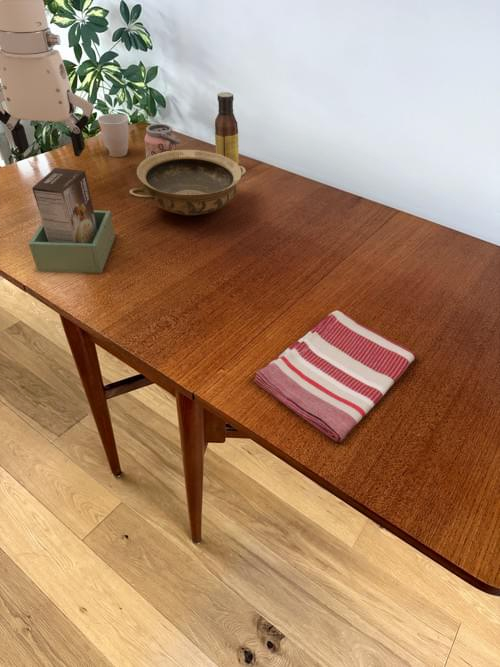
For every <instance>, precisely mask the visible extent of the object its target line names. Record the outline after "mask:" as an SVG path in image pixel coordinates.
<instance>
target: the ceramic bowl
mask: <svg viewBox="0 0 500 667" xmlns="http://www.w3.org/2000/svg"><path fill="white" fill-rule="evenodd" d="M246 173H247V170H246V168H245V167H244V166H242V165H239V164H236V163H235V162H234V161H232V160H231V159H229V158H227V157H225V156H222V155H219V154H216V152H212V151H207V150H199V149H176V150H174V151H166V152H162V153H158V154H155V155H152V156H150V157H148V158H146V157H145V159H143V161H141V162H140V163H139V165H138V166H137V168H136V175H137V178H138V179H139V181H140V182H141V183H142V186H141V187H134V188H131V189H129V191H128V194H129V196H131V197H132V198H133V199H134V198H135V199H138V200H149V201H150V202H151V203H152V204H154V205H155V206H157V208H160V209H162V210H164V211H166V212H168V213H173V214H178V215H180V216H184V217H196V216H200V215H204V214H209V213H212V212H215V211H218V210H220V209H222V208H223V207H225V206H226V205H228V204H229V203H230V202H231V201H232V200H233V198H234V197H235V194H236V191H237V184H238V183H239V181H240V180H241V179H242V178H243V177H245V175H246ZM138 193H142V194H138ZM143 193H144V194H143Z"/></svg>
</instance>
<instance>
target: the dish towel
mask: <svg viewBox="0 0 500 667" xmlns="http://www.w3.org/2000/svg"><path fill="white" fill-rule="evenodd" d="M416 358H417V356H416V353H415V352H414V351H412V350H411V349H409V348H407V347H405V346H404V345H402V344H400V343H398V342H395V341H393V340H392V339H390V338H388V337H387V336H385V335H383V334H382V333H379V332H377V331H375V330H374V329H372V328H370V327H368V326H367V325H364V324H362V323H359V322H358V321H357V320H355V319H354V318H352V317H350V316H349V315H347V314H345V313H344V312H342V311H340V310H338V309H337V310H334V311H332V312H331V313H330V314H328V315H326V316H325V317H324V318H322V319H321V320H320V321H319V322H318V323H316V324H315V325H314V326H313V327H311V329H310V330H309V331H308V332H307V333H306V334H305V335H304V336H302V337H301V338H299V339H298V340H297V341H295V342H294V343H293V344H291V345H290V346H288V347H287V348H286V349H285V350H284V351H283V352H282V353H281V354H279V355H278V356H277V357H276V358H275V359H274V360H272V361H271V362H269V363H268V364H267V365H266V366H264V367H262V368H261V369H259V370H257V371H255V378H254V379H253V383H255V384H256V385H257V386H258V387H259V388H261V389H262V390H264V391H265V392H266V393H267V394H269V395H271V397H273V398H275V399H276V400H277V401H279V402H280V403H281V404H282V405H284V406H285V407H286V408H288V409H289V410H290V411H292V412H293V413H295V415H296V416H299V417H300V418H301V419H304V421H306V422H307V423H309V424H310V425H311V426H313V427H314V428H316V429H317V430H318V431H320V432H321V433H323V434H324V435H325V436H327V437H328V438H330V440H332V441H334V442H337V443H341V442H342V441H343V440H345V438H346V437H347V435H348V434H349V433H350V432H351V431H352V430H353V429H354V428H355V427H356V426H357V424H359V422H361V420H362V419H363V418H364V417H365V416H367V414H368V413H369V412H370V411H371V409H373V408H374V407H375V406H376V404H378V402H379V401H381V400H382V398H383V397H384V395H385V394H386V393H387V392H388V391H389V389H390V388H391V387H392V386H393V385H394V384H395V383H396V382H397V381H398V380H399V379H400V378H401V377H403V376H402V375H403V374H405V372H406V371H407V370H408V368H409V367H410V365H411V364H412V362H414V361H415V360H416Z"/></svg>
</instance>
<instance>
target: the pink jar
mask: <svg viewBox="0 0 500 667" xmlns="http://www.w3.org/2000/svg"><path fill="white" fill-rule="evenodd" d="M145 131H146V134H145V136H144V139H143V140H144V149H145V159H146V158H148V157H150V156H152V155H155V154H158V153H162V152H166V151H174V150H177V145H180V144H181V139H180V138H179V137H177V136H176V135H175V134H174V133H173V127H172V126H171V125H169V124H166V123H150V125H148V126H146V128H145Z"/></svg>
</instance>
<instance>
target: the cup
mask: <svg viewBox="0 0 500 667" xmlns="http://www.w3.org/2000/svg"><path fill="white" fill-rule="evenodd" d="M97 123H98V128H99V133H100V136H101V139H102V142H103V146H104V148H105V149H106V152H107V154H108V156H109V157H113V158H122V157H125V156H127V154H128V149H129V139H130V138H129V136H130V133H129V132H130V130H129V118H128V116H127V115H124V114H121V113H106V114H103V115H102V114H101V115H100V116H98V117H97Z"/></svg>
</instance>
